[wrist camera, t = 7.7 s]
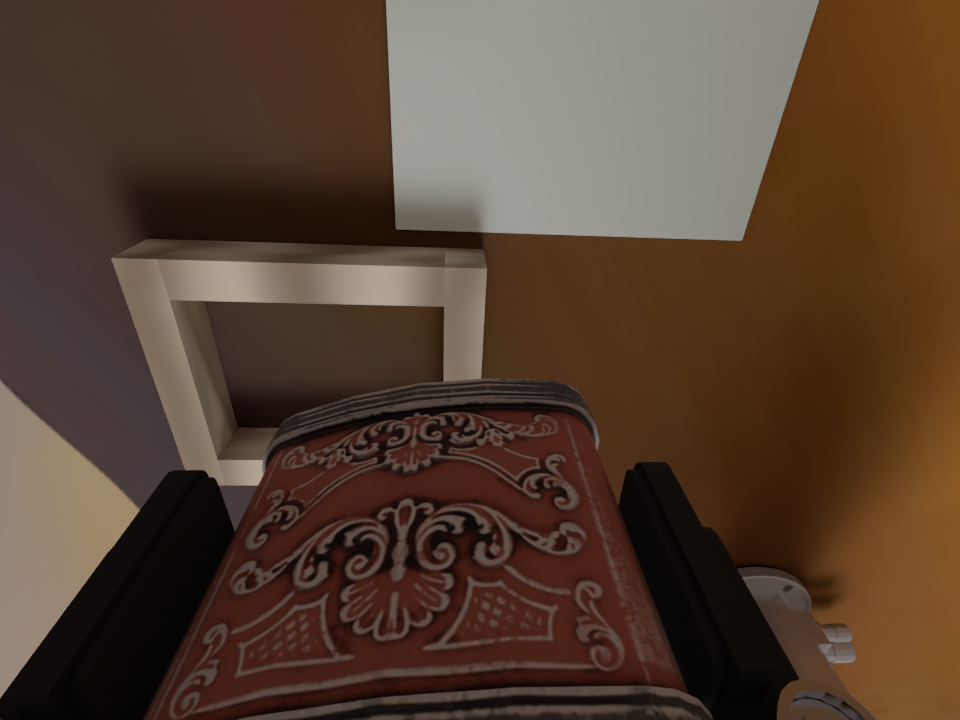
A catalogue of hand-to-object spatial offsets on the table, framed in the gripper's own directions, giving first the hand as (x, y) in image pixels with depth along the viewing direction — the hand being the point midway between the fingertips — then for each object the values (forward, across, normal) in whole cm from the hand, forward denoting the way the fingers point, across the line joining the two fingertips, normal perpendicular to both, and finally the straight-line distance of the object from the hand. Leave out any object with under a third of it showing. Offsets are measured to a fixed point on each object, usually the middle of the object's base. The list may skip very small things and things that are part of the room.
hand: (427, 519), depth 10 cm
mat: (+18, -7, -7) cm, 20 cm away
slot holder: (+18, +7, +7) cm, 20 cm away
